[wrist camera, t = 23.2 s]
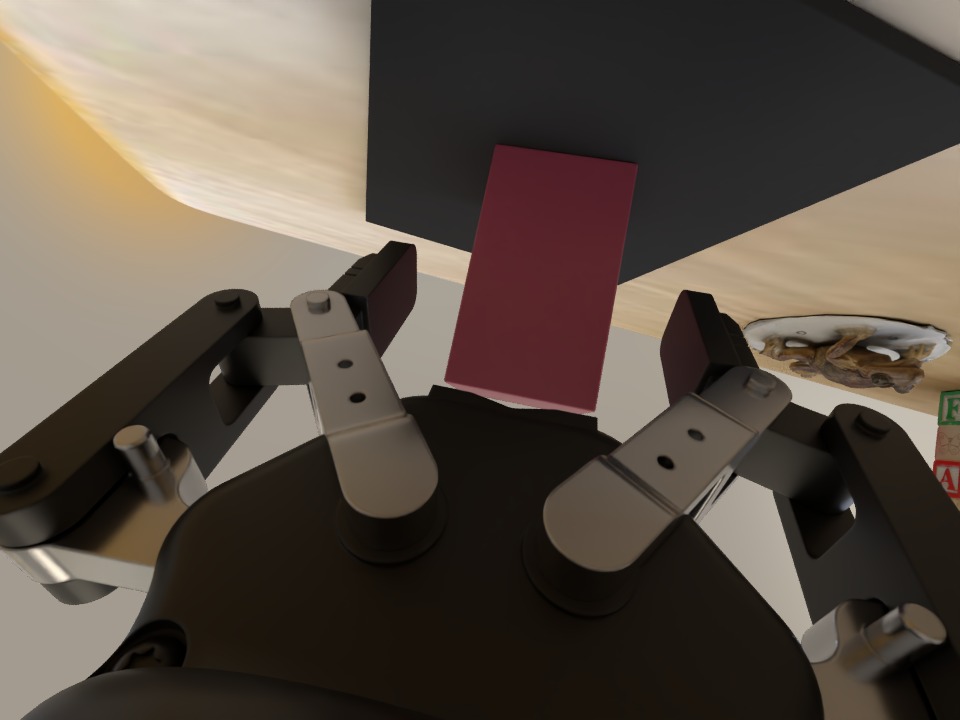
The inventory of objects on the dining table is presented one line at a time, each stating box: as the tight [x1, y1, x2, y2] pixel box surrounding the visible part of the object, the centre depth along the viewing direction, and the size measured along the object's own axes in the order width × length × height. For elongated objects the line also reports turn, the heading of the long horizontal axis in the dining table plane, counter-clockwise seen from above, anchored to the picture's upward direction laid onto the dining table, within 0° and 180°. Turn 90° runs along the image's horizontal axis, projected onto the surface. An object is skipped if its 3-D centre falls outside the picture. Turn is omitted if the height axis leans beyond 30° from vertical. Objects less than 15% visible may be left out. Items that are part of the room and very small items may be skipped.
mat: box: [366, 0, 960, 285], centre depth 19 cm, size 20×16×1 cm
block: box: [444, 144, 638, 414], centre depth 18 cm, size 5×5×9 cm
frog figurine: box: [743, 315, 953, 393], centre depth 31 cm, size 12×12×4 cm
